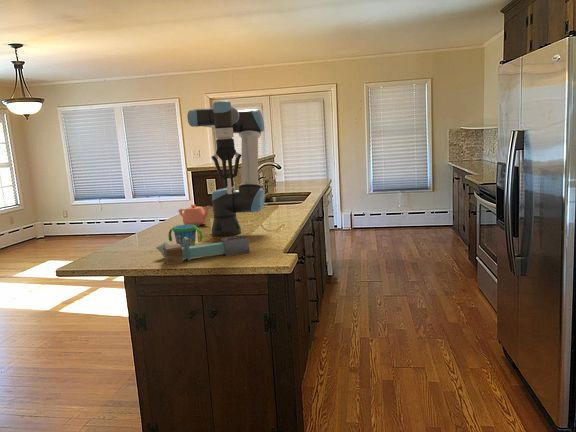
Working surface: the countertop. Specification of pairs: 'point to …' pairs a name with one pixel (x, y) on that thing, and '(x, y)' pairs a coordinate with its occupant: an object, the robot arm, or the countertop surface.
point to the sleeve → (236, 245)
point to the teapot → (194, 215)
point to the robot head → (162, 248)
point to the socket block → (173, 254)
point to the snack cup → (185, 234)
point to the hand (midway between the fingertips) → (229, 193)
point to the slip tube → (201, 249)
